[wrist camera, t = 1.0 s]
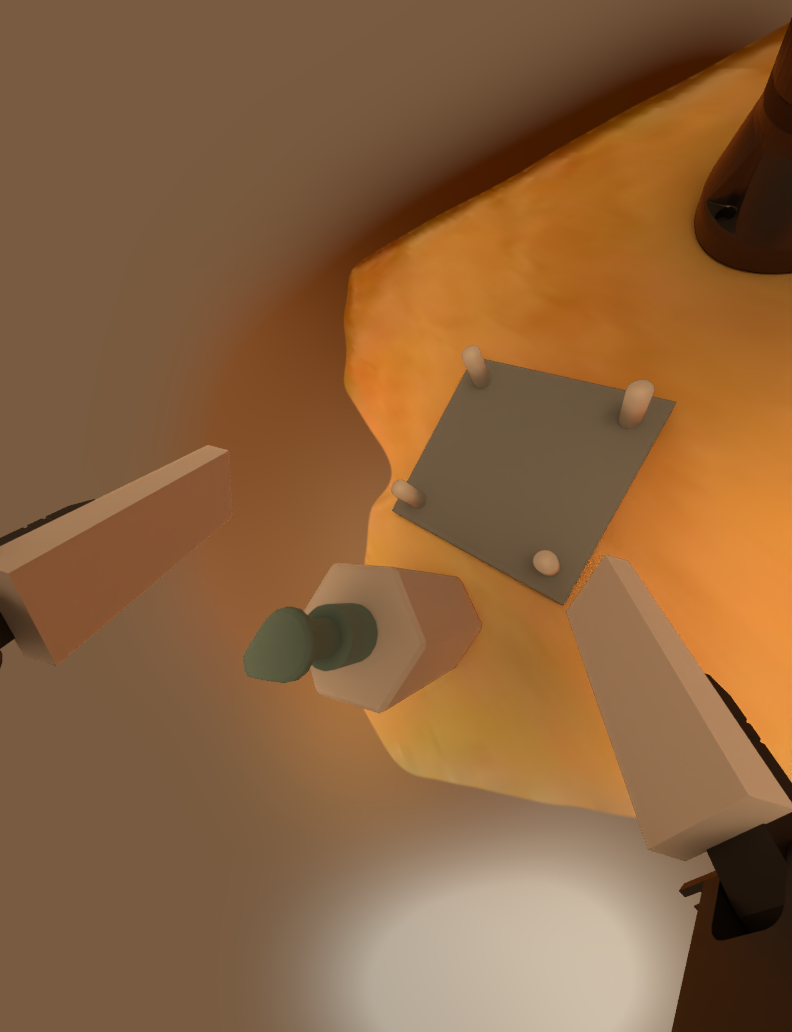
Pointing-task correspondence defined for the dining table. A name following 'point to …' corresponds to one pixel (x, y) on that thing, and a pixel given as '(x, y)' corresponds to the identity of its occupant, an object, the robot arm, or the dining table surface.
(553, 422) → the plate
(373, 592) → the soap bottle
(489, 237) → the dining table surface
